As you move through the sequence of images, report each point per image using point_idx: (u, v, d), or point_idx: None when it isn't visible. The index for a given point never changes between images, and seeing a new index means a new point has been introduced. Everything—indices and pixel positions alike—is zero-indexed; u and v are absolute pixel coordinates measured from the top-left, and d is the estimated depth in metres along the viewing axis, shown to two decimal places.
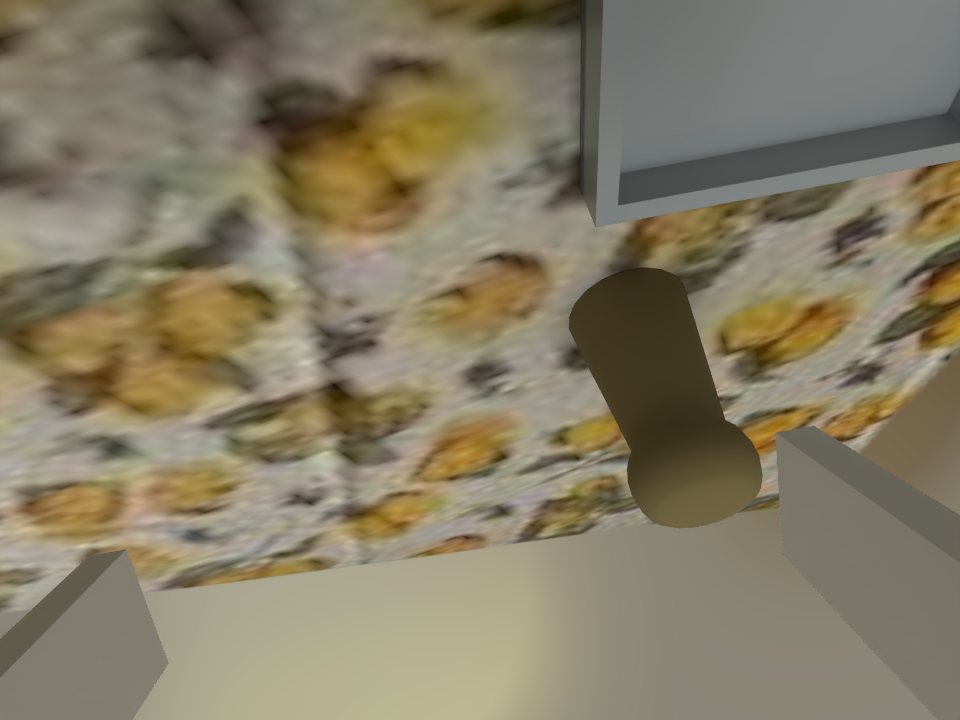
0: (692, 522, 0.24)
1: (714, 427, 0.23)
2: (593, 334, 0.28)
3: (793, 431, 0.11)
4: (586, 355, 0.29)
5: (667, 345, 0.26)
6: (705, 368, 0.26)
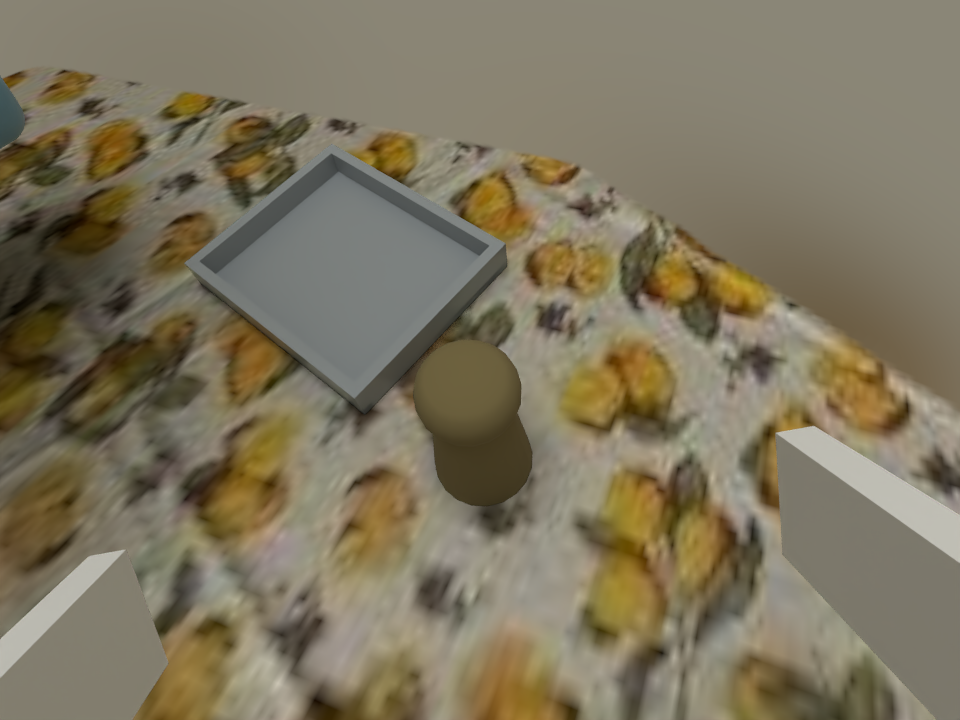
0: (467, 392, 0.27)
1: None
2: (436, 460, 0.35)
3: (793, 430, 0.11)
4: (448, 478, 0.34)
5: None
6: None
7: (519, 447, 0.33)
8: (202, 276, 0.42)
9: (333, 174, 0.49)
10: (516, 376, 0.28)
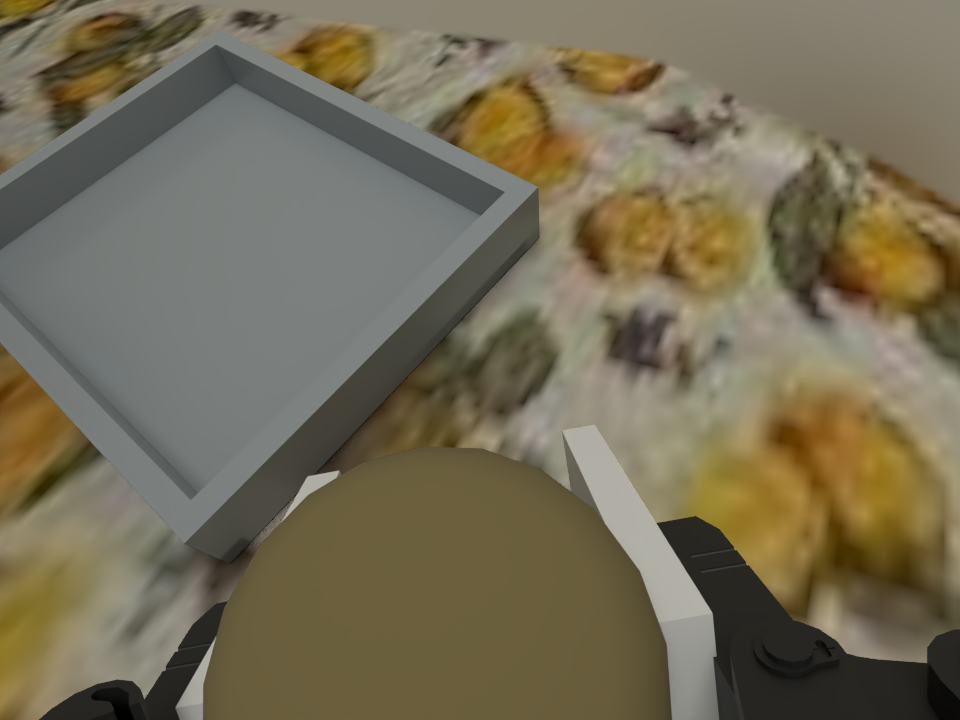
0: None
1: None
2: None
3: (576, 428, 0.13)
4: None
5: None
6: None
7: None
8: None
9: (227, 88, 0.28)
10: (655, 630, 0.06)
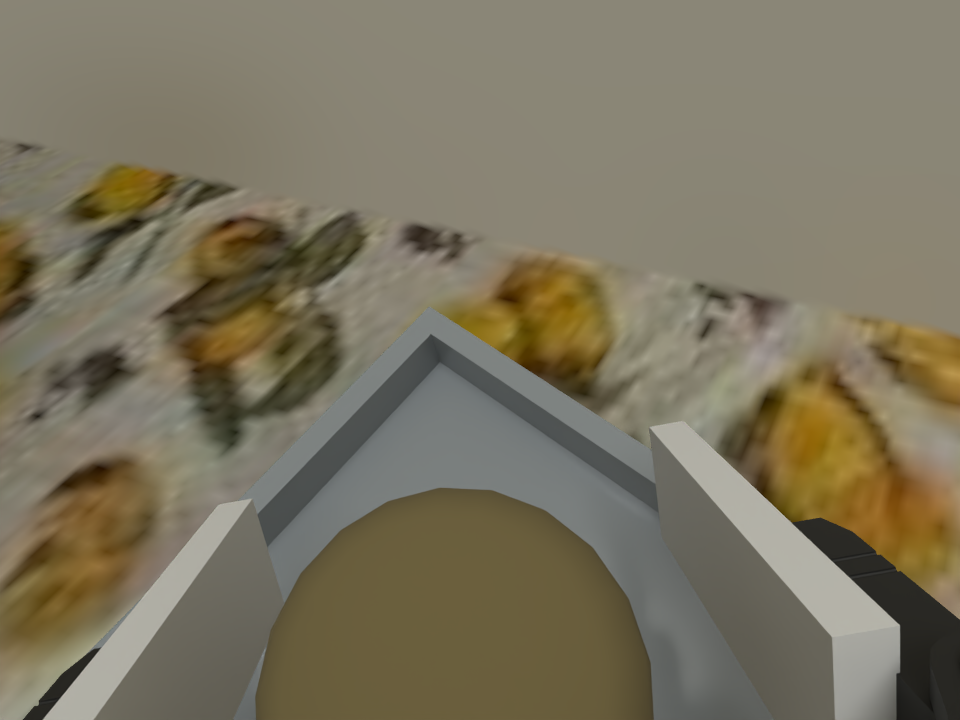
0: None
1: None
2: None
3: (664, 425, 0.13)
4: None
5: None
6: None
7: None
8: None
9: (430, 371, 0.21)
10: (640, 651, 0.07)
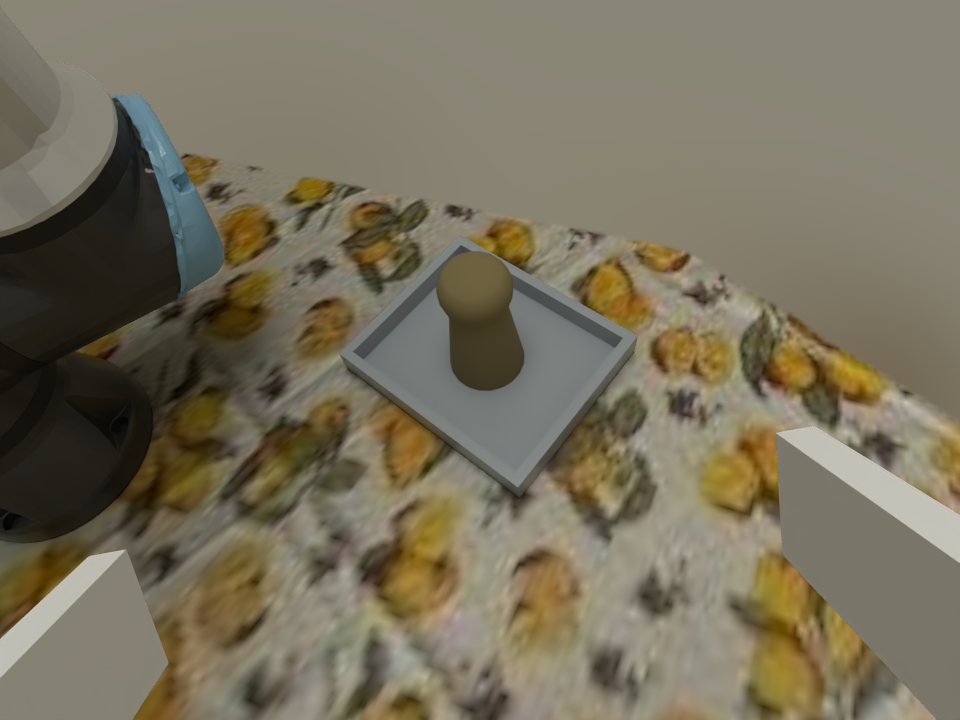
0: (474, 282, 0.38)
1: None
2: (451, 355, 0.46)
3: (793, 431, 0.11)
4: (461, 366, 0.45)
5: None
6: None
7: (513, 339, 0.44)
8: (358, 366, 0.47)
9: None
10: (509, 274, 0.39)
